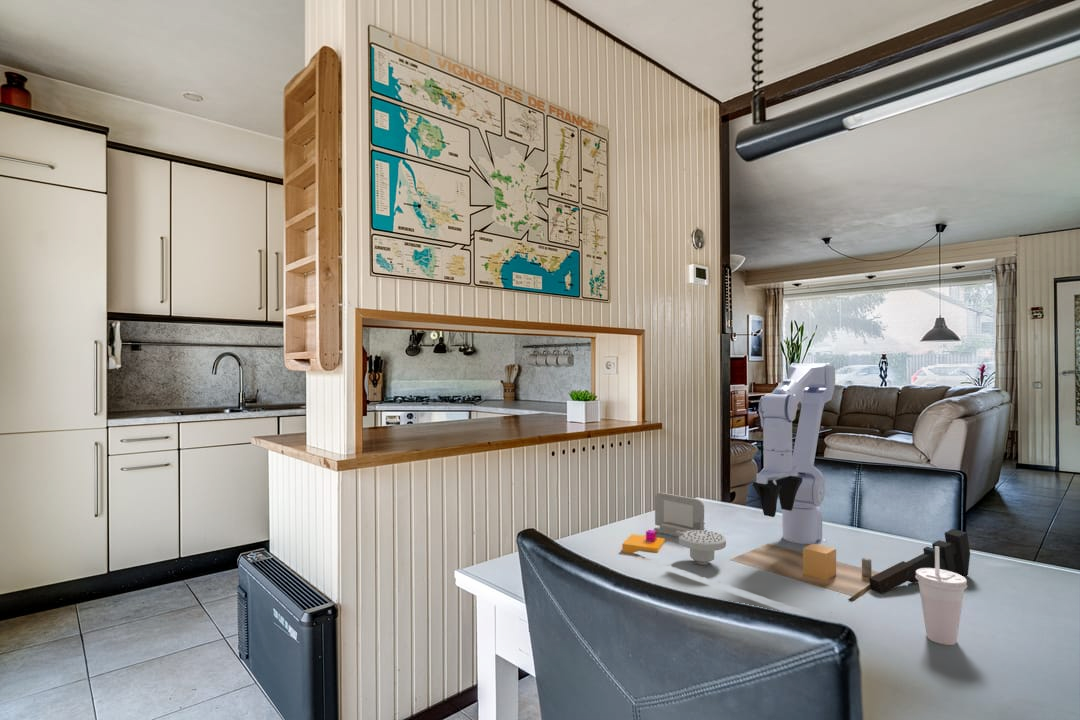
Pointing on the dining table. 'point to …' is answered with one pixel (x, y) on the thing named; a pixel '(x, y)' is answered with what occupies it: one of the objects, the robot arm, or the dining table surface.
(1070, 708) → the dining table surface
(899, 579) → the adjustable wrench
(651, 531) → the orange block with knob
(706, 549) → the showerhead
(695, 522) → the handheld gaming console
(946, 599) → the smoothie
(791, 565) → the board
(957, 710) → the dining table surface
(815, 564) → the orange wooden toy cube
